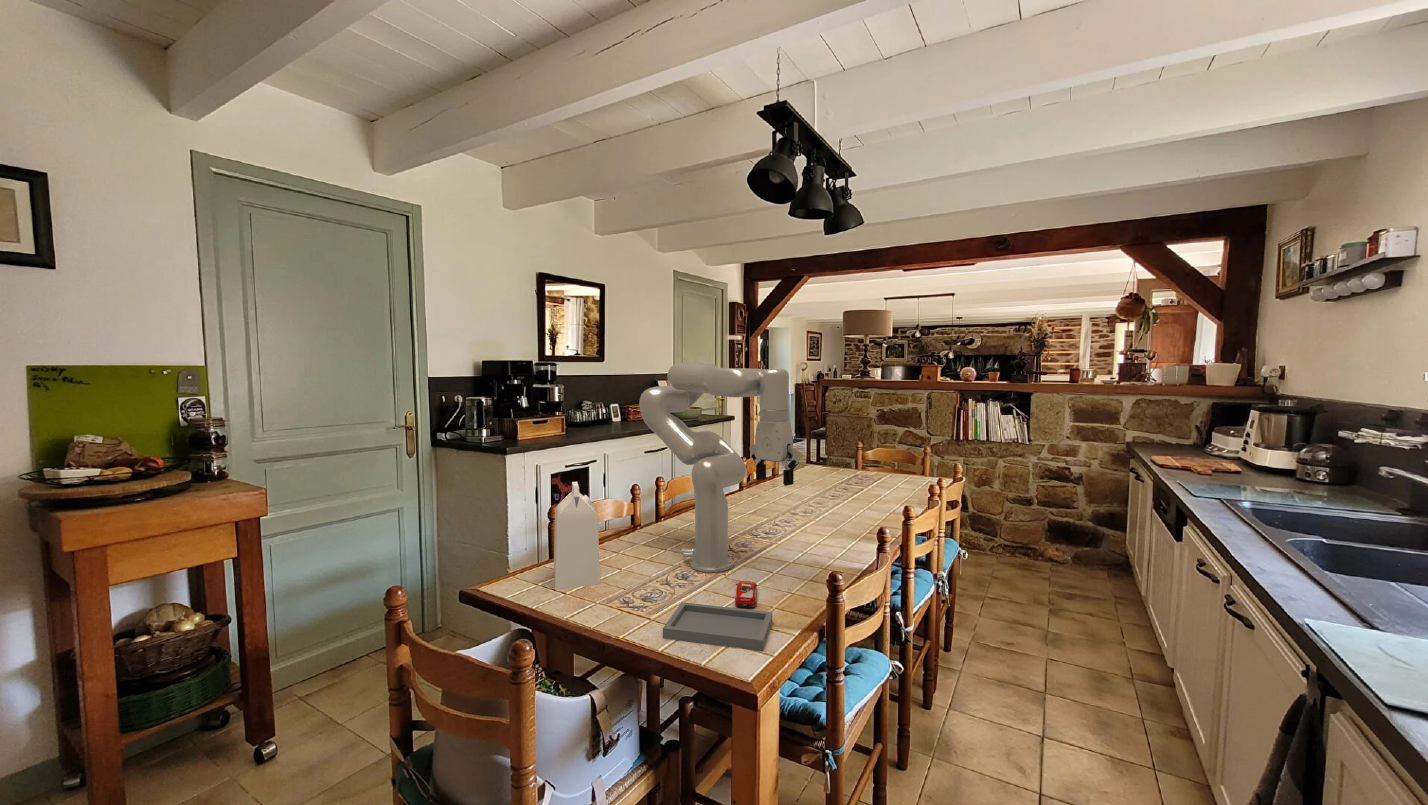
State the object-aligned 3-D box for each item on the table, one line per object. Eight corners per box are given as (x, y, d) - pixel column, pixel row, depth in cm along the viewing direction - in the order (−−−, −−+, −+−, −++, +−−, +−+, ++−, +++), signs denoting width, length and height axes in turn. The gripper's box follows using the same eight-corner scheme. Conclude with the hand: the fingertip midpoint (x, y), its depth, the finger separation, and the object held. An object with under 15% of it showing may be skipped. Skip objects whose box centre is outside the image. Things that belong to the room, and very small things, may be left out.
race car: (737, 588, 145) (737, 573, 144) (758, 589, 144) (758, 574, 144) (732, 609, 132) (732, 593, 131) (755, 611, 131) (755, 594, 131)
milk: (553, 573, 154) (552, 480, 152) (595, 568, 158) (594, 478, 156) (555, 589, 143) (553, 490, 141) (600, 584, 146) (599, 487, 145)
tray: (662, 638, 117) (662, 628, 117) (681, 611, 130) (681, 602, 130) (762, 651, 112) (763, 640, 112) (772, 621, 125) (772, 612, 125)
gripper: (740, 415, 147) (741, 479, 148) (789, 419, 134) (789, 489, 135) (760, 414, 152) (760, 475, 153) (809, 417, 139) (809, 485, 140)
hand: (774, 482), depth 144 cm, fingers open, 9 cm apart
